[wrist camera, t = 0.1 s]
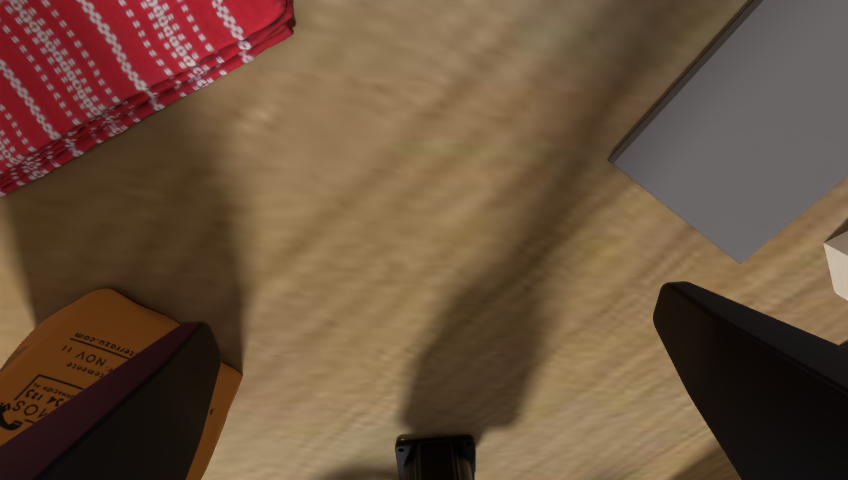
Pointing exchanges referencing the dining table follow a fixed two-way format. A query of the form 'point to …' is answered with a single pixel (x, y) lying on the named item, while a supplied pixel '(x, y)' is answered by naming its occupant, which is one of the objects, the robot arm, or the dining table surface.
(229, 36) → the dish towel
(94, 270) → the dining table surface
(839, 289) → the box
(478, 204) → the dining table surface
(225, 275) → the dining table surface
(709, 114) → the placemat
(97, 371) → the coffee package
